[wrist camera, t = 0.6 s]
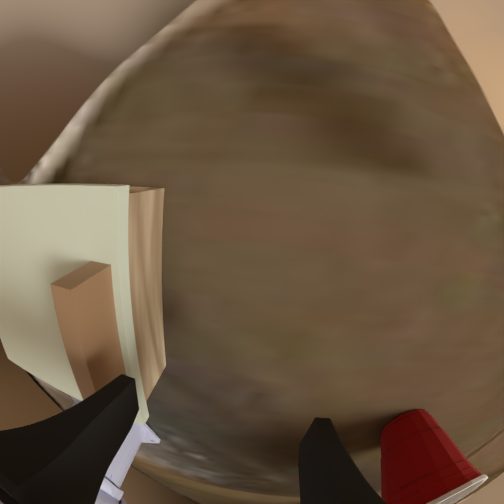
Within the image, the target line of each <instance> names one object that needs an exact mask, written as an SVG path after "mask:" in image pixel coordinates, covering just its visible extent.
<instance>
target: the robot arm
mask: <svg viewBox="0 0 504 504" xmlns="http://www.w3.org/2000/svg"><path fill="white" fill-rule="evenodd" d="M71 398H72V399H73V401H74V403H73V404H72V405H71V407H70V408H69V409H67V410H65V411H63V412H61V413H59V414H57V415H55V416H52V417H50V418H48V419H45V420H43V421H40V422H37V423H34V424H31V425H27V426H24V427H19V428H14V429H9V430H3V431H0V504H126V501H125V500H124V499H123V498H121V497H122V495H123V493H124V492H123V491H121V490H120V486H121V484H122V482H123V480H124V478H125V476H126V474H127V471H128V469H129V467H130V465H131V463H132V461H133V459H134V457H135V455H136V453H137V450H138V448H139V446H140V444H141V442H145V443H160V439H159V438H158V436H157V435H156V434H155V433H154V432H153V431H152V430H151V429H150V428H149V426H148V425H147V424H146V423H145V425H144V426H143V425H140V424H137V423H134V421H135V419H136V416H137V414H138V411H139V404H138V397H137V390H136V382H135V379H134V378H132V377H129V376H126V375H124V374H121V375H119V376H118V377H116V378H115V379H114V380H112V381H111V382H109V383H108V384H107V385H105V386H104V387H102V388H101V389H99V390H98V391H96V392H95V393H93V394H92V395H90V396H89V397H87V398H86V399H84V400H83V401H80V400H78V399H76V398H74V397H72V396H71ZM298 466H299V484H300V501H301V504H387V503H386V502H385V501H384V500H383V499H382V498H381V497H380V496H379V495H378V494H377V493H376V492H375V490H374V489H373V488H372V487H371V486H370V484H369V483H368V482H367V480H366V479H365V478H364V476H363V475H362V473H361V472H360V471H359V469H358V468H357V466H356V464H355V463H354V461H353V460H352V458H351V456H350V455H349V453H348V451H347V450H346V448H345V446H344V444H343V442H342V440H341V439H340V437H339V435H338V433H337V431H336V429H335V427H334V425H333V423H332V421H331V420H330V418H315V419H314V421H313V423H312V424H311V426H310V428H309V430H308V431H307V433H306V435H305V436H304V438H303V440H302V441H301V443H300V449H299V464H298Z"/></svg>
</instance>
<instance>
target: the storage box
mask: <svg viewBox="0 0 504 504" xmlns="http://www.w3.org/2000/svg"><path fill="white" fill-rule="evenodd" d="M163 202H164V188H155V187H137V186H129V208H128V254H129V278H130V293H131V306H132V316H133V326H134V334H135V342H136V349H137V356H138V362H139V368H140V374H141V380H142V385H143V390H144V395H145V400H146V401H147V399H148V397H149V395H150V393H151V392H152V390H153V388H154V386H155V384H156V383H157V381H158V379H159V377H160V375H161V374H162V372H163V370H164V368H165V366H166V359H165V346H164V330H163V309H162V223H163Z"/></svg>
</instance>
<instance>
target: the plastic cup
mask: <svg viewBox="0 0 504 504" xmlns="http://www.w3.org/2000/svg"><path fill="white" fill-rule="evenodd" d="M380 444H381V486H382V499H383V500H384V501H385V502H386V503H387V504H453V503H455V502H457V501H458V500H460V499H461V498H463V497H464V496H466V495H467V494H469V493H470V492H472V491H473V490H474V489H476V488H477V487H478V486H480V485H481V484H482V483H483V482H484V481H485V480H486V479H487V478H488V477H487V476H486V475H482V474H481V473H480V472H478V471H477V469H476V468H474V467H473V466H472V464H471V463H470V462H469V461H468V460H467V459H466V458H465V456H464V455H463V454H462V453H461V451H460V450H459V449H458V447H457V446H456V445H455V444H454V442H453V441H452V440H451V438H450V437H449V436H448V435H447V433H446V432H445V431H444V430H443V429H442V428H441V427H440V426H439V425H438V423H437V422H436V421H435V420H434V418H433V417H432V416H431V415H430V414H429V413H428V412H426V411H425V410H421V409H416V410H412V411H409V412H406V413H404V414H402V415H400V416H398V417H396V418H395V419H394V420H392V421H391V422H389V423H388V424H387V425H386V426H385V427H384V429H383V430H382V433H381V439H380Z"/></svg>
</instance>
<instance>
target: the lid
mask: <svg viewBox="0 0 504 504" xmlns="http://www.w3.org/2000/svg"><path fill="white" fill-rule="evenodd" d="M128 208H129V185H116V184H21V185H0V338H1V341H2V344H3V347H4V349H5V352H6V354H7V357H8V359H10V360H11V361H12V362H14V363H15V364H17V365H19V366H20V367H21V368H23V369H24V370H26V371H28V372H29V373H31V374H32V375H34V376H36V377H37V378H39V379H41V380H42V381H44V382H46V383H48V384H49V385H51V386H53V387H55V388H57V389H59V390H60V391H62V392H64V393H66V394H68V395H70V396H72V397H74V398H76V399H78V400H80V401H83V400H84V399H86V398H87V397H89V396H90V395H92V394H93V393H95V392H96V391H98V390H99V389H101V388H102V387H104V386H105V385H107V384H108V383H109V382H111V381H112V380H114V379H115V378H116V377H118V376H119V375H121V374H124V375H126V376H129V377H132V378H134V379H135V382H136V390H137V397H138V404H139V411H138V414H137V416H136V419H135V421H134V423H137V424H140V425H143V426H144V425H145V423H146V421H147V419H148V417H149V413H148V409H147V404H146V400H145V395H144V390H143V385H142V380H141V374H140V368H139V362H138V356H137V349H136V342H135V334H134V326H133V316H132V306H131V293H130V278H129V254H128Z"/></svg>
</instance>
